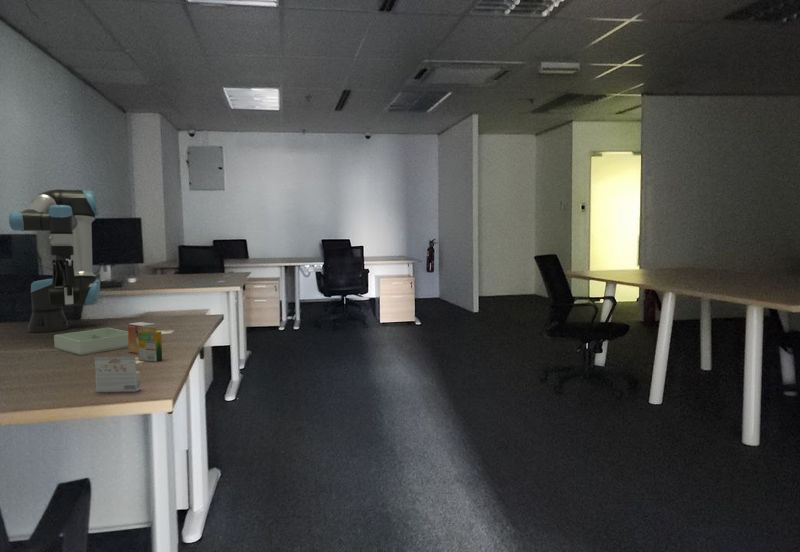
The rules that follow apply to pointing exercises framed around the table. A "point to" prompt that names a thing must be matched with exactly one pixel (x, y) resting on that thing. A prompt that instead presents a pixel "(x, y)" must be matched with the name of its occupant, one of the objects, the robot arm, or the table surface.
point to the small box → (136, 334)
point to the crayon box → (149, 344)
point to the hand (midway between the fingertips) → (64, 303)
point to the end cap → (62, 296)
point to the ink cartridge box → (116, 374)
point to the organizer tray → (91, 341)
